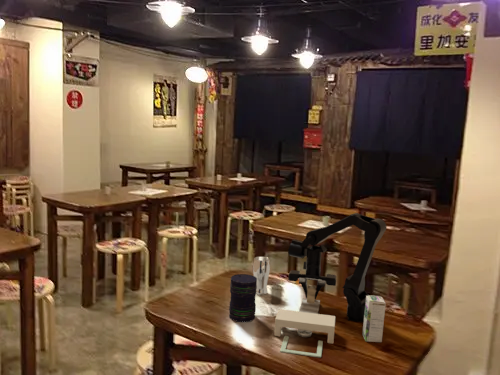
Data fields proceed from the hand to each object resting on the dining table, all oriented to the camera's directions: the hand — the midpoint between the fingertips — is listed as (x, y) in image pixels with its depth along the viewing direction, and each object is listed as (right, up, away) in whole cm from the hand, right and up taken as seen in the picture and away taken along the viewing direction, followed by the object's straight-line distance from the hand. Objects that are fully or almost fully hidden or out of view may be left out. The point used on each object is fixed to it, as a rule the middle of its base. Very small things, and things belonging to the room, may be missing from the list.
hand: (311, 298), depth 192 cm
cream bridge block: (-6, -6, -26) cm, 27 cm away
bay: (-7, -8, -35) cm, 37 cm away
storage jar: (-28, -4, -14) cm, 31 cm away
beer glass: (-20, -1, +12) cm, 23 cm away
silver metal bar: (-2, -4, -9) cm, 10 cm away
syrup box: (+18, -8, -27) cm, 33 cm away
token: (-6, -7, -26) cm, 27 cm away
